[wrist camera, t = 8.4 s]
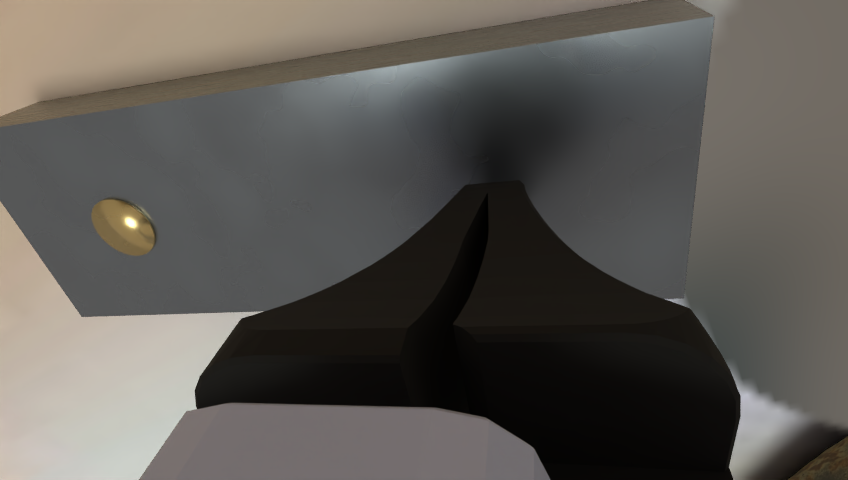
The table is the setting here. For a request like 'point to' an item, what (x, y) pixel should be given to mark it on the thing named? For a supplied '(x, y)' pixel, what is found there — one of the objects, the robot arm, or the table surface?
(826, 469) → the brown textured cylinder
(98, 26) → the table surface
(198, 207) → the steel plate with brass
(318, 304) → the robot arm
